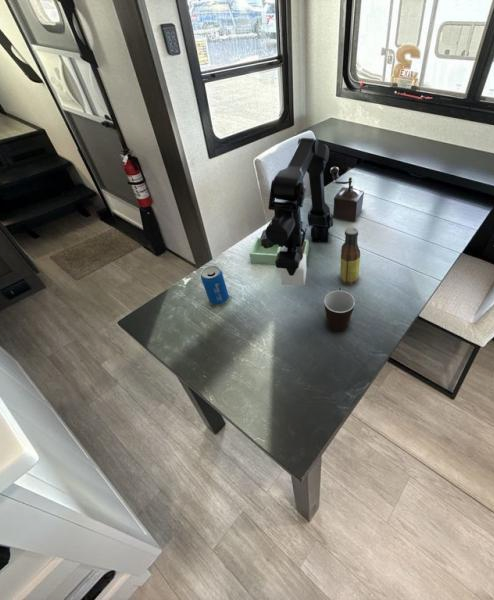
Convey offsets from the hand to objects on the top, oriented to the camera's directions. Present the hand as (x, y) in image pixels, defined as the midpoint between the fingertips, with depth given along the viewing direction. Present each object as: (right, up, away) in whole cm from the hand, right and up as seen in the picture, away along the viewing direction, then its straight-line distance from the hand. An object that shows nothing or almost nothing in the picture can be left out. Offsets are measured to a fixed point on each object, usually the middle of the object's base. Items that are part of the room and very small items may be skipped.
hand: (293, 266), depth 95 cm
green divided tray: (-6, +7, +24) cm, 25 cm away
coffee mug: (+14, -17, +1) cm, 22 cm away
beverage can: (-25, -10, +8) cm, 28 cm away
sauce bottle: (+19, -3, +13) cm, 23 cm away
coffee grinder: (+20, +29, +44) cm, 56 cm away
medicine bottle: (0, -3, +4) cm, 5 cm away
